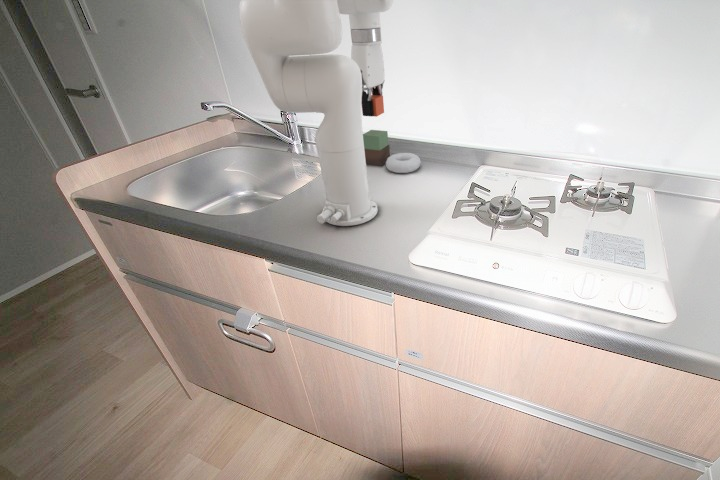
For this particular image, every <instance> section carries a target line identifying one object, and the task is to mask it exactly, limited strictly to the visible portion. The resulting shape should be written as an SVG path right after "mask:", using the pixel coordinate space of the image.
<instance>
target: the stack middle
mask: <svg viewBox="0 0 720 480" xmlns="http://www.w3.org/2000/svg"><path fill="white" fill-rule="evenodd" d="M388 134H389V133H388V130H380V129H379V130H377V129H370V130H368V131H366V132H364V133H363V141H364V149H369V150H379V151H380V150H381V149H383V148H384V147H386V146H387V145H389V135H388Z"/></svg>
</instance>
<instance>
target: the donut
mask: <svg viewBox="0 0 720 480" xmlns="http://www.w3.org/2000/svg"><path fill="white" fill-rule="evenodd" d="M421 163H422V160H421V158H420V157H419V156H418V155H417V154H415V153H411V152H398V153H394V154H392V155H391V154H390V157H388V158H387V161H386V163H385V166H386V168H387V170H388V171H390V172H393V173H396V174H409V173H412V172H415V171H417V170H418V169H419V168H420V166H421Z"/></svg>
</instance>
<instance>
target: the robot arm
mask: <svg viewBox="0 0 720 480" xmlns="http://www.w3.org/2000/svg"><path fill="white" fill-rule="evenodd" d="M393 3H394V0H240V1H239V6H238V16H239V24H240V28H241V33H242V35H243V38H244V41H245V43H246V46H247V48H248V51H249V53H250V55H251V58H252V60H253V62H254V65H255V67H256V69H257V71H258V74H259V76H260V78H261V80H262V83H263V84H264V87H265V89H266V91H267V93H268V95H269V98H270V100H271V101H272V103H273V104H274V106H275V107H276V108H277V109H278V110H280V111H281V112H284V113H293V114H294V113H295V114H298V113H299V114H300V113H301V114H303V113H306V114H307V113H317V114H323V116H324V117H323V119H322V120H321V122H320V124H319V125H318V128H317V130H316V134H315V144H316V148H317V154H318V155H317V156H318V159H319V165H320V172H321V178H322V182H323V188H324V193H325V198H326V201H325V202H324V205H325V206H324V207H323V208H322V211H321V212H320V214H318V215H317V216H316V220H317V222H318V223H319V224H324V223H328V224H330V225H333V226H338V227H350V226H351V227H353V226H357V225H362V224H364V223H367V222H369V221H370V220H372V219H374V218H375V217H376V215H377V214H378V212H379V211H378V204H377V203H376V202H375V201H374V200H372V199H371V198H370V189H369V180H368V169H367V164H366V159H365V150H364V141H363V134H364V132H363V119H362V116H363V115H364V116H363V117H375V116H374V109H373V100H371V95H383V88H384V84H385V64H384V56H383V49H382V30H381V29H382V28H381V13H385V12H387V11H389V10H390V9H391V7H392V5H393ZM341 15H348V17H349V18H348V19H349V28H350V38H351V52H350V56H351V57H350V56H346V55H342V54H328V53H331V52H334V51H335V50H337V49H338V48H339V46H340V45H341V43H342V38H343V25H342V19H341ZM364 86H365V87H364ZM361 103H362V104H361ZM362 110H363V113H362Z"/></svg>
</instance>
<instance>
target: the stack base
mask: <svg viewBox="0 0 720 480" xmlns="http://www.w3.org/2000/svg"><path fill="white" fill-rule="evenodd" d="M364 150H365V159H366V165H369V166H378V167H382V166H384V165H386V161H387V158H388V157H390V156H391V150H390V144H388V145H387V146H386V147H384V148H383V149H381V150H380V151H379V150H369V149H364Z"/></svg>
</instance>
